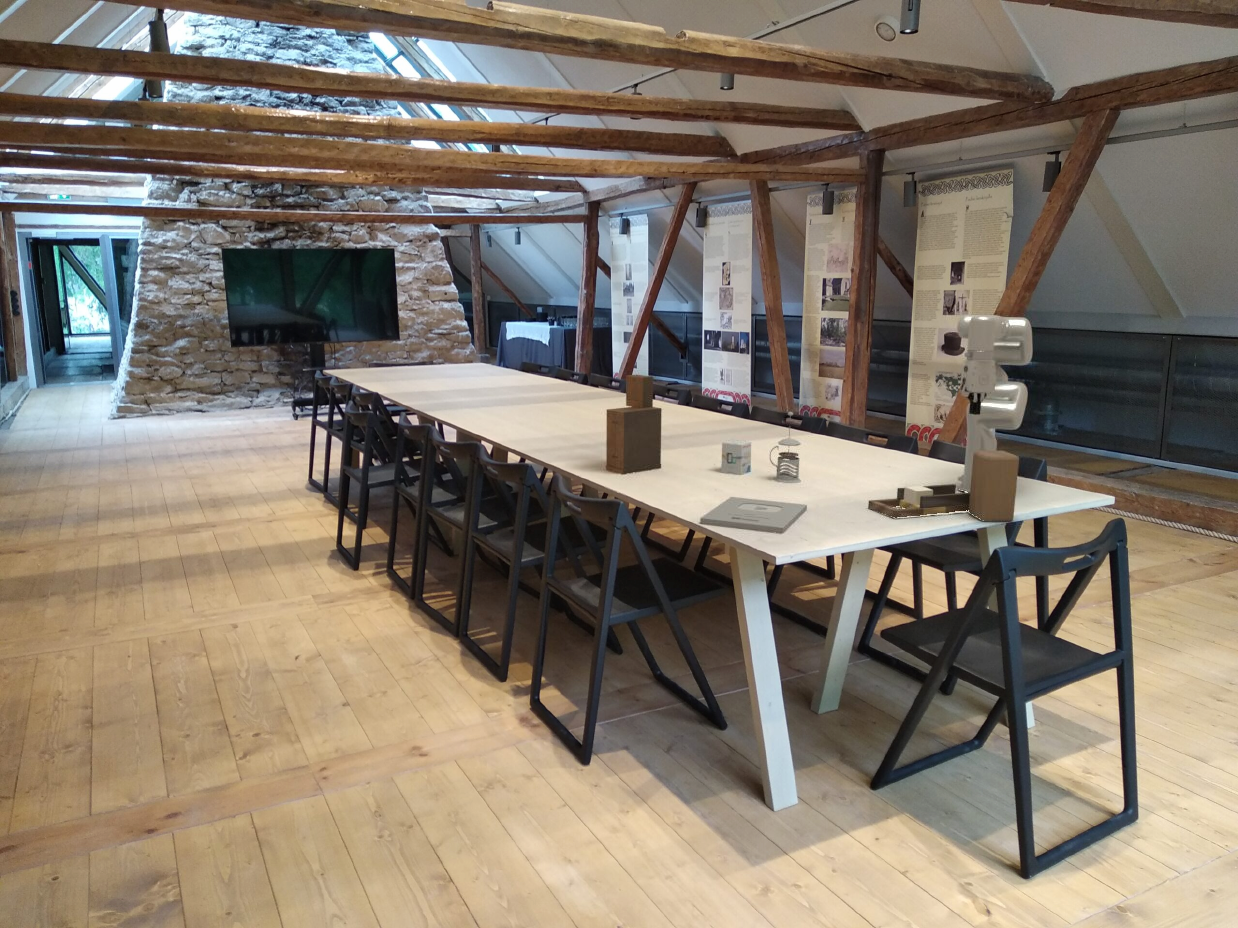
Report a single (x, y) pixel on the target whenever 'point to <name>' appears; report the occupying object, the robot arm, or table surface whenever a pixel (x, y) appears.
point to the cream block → (916, 494)
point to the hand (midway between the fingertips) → (974, 414)
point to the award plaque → (754, 514)
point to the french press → (787, 461)
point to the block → (993, 485)
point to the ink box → (736, 457)
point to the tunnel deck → (924, 502)
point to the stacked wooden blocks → (634, 430)
